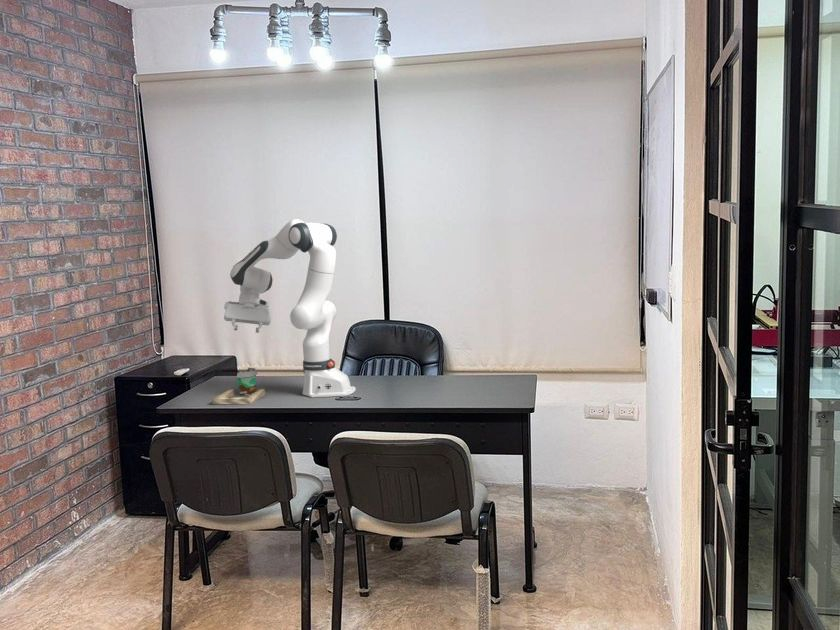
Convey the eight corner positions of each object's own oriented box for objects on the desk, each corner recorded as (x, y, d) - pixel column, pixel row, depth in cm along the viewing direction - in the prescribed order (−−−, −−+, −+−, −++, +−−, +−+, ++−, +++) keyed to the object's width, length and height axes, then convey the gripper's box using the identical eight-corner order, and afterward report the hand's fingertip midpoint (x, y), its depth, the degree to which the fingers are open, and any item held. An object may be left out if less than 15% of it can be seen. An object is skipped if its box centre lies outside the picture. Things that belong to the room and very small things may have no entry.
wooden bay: (265, 394, 347) (264, 389, 347) (249, 404, 331) (248, 398, 330) (229, 395, 350) (229, 389, 350) (212, 404, 334) (212, 398, 333)
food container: (252, 396, 346) (250, 373, 345) (238, 396, 347) (236, 373, 346) (263, 389, 358) (261, 367, 357) (250, 389, 359) (248, 367, 358)
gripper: (225, 297, 359) (222, 324, 352) (272, 302, 364) (270, 330, 357) (224, 304, 364) (221, 331, 357) (270, 309, 369) (268, 336, 362)
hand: (246, 330), depth 357 cm, fingers open, 8 cm apart
